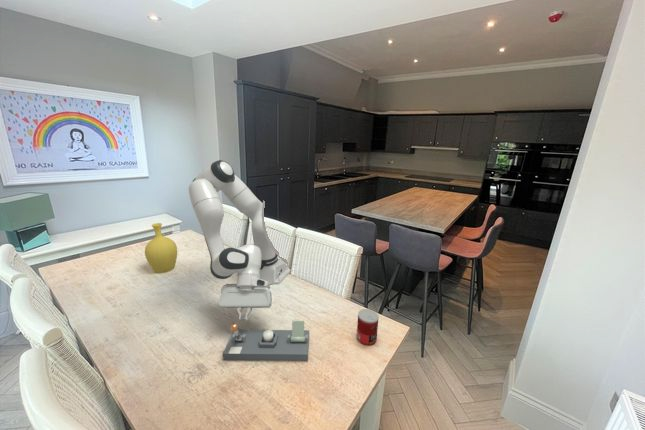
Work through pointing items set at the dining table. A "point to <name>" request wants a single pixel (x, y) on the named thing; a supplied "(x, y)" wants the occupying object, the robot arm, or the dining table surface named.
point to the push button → (268, 335)
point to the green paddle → (297, 331)
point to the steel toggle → (236, 332)
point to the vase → (161, 252)
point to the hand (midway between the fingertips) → (243, 320)
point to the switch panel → (266, 347)
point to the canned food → (367, 326)
